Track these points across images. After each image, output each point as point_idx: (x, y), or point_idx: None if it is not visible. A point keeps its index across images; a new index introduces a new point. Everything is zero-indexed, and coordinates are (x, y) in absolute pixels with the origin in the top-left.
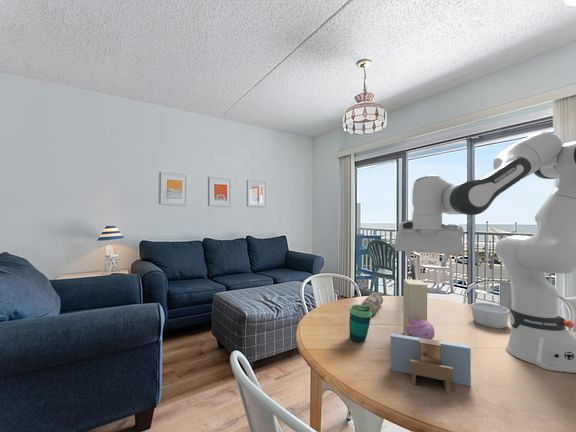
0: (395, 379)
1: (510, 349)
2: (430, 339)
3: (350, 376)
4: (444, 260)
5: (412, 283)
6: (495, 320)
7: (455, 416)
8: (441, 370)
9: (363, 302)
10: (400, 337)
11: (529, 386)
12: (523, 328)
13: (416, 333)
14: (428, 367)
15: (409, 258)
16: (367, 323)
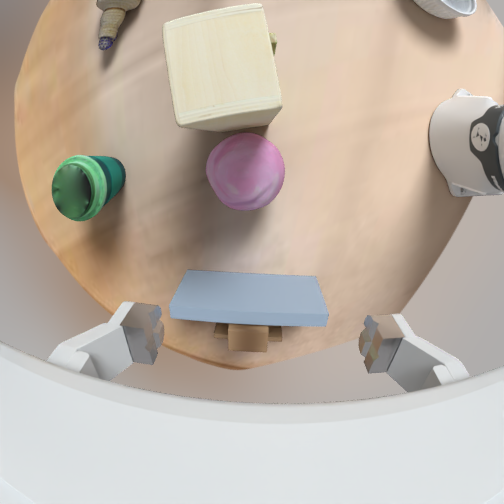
0: None
1: (434, 139)
2: (251, 333)
3: None
4: (395, 372)
5: (200, 102)
6: (444, 14)
7: (270, 351)
8: None
9: (98, 2)
10: (191, 319)
11: (401, 256)
12: (479, 168)
13: (232, 208)
14: None
15: (116, 367)
16: (108, 197)
